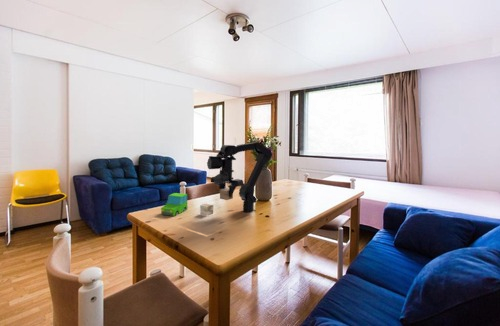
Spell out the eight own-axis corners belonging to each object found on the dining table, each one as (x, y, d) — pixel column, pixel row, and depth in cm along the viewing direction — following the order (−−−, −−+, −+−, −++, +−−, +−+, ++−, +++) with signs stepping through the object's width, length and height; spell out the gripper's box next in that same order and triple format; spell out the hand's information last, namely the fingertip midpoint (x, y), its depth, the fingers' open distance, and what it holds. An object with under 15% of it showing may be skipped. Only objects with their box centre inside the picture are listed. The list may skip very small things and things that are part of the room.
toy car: (158, 216, 127) (158, 198, 126) (173, 209, 139) (173, 192, 138) (175, 218, 124) (175, 200, 123) (189, 211, 136) (188, 194, 135)
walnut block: (225, 196, 133) (225, 188, 132) (232, 198, 130) (232, 189, 129) (219, 198, 128) (219, 189, 128) (227, 200, 126) (227, 191, 125)
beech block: (206, 211, 134) (206, 203, 133) (213, 213, 131) (213, 204, 130) (200, 214, 129) (200, 205, 129) (206, 215, 127) (206, 206, 126)
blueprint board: (207, 209, 139) (207, 208, 139) (220, 213, 134) (220, 211, 134) (189, 216, 128) (189, 214, 128) (202, 220, 122) (202, 218, 122)
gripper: (203, 168, 126) (203, 196, 127) (231, 171, 116) (230, 202, 117) (217, 166, 135) (217, 193, 137) (244, 169, 125) (243, 198, 126)
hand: (226, 196), depth 129 cm, fingers closed on walnut block, 5 cm apart
